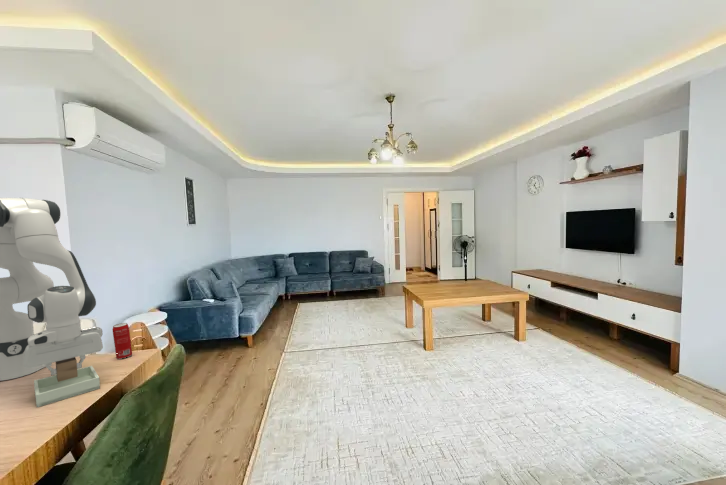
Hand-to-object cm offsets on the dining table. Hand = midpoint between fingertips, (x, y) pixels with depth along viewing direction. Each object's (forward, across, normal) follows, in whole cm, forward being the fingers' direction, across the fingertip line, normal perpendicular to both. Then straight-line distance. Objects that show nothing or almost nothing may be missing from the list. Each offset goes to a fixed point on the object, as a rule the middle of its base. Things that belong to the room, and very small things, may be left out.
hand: (66, 371), depth 111 cm
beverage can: (+7, -20, -21) cm, 30 cm away
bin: (+7, 0, 0) cm, 7 cm away
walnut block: (+2, 0, 0) cm, 2 cm away
